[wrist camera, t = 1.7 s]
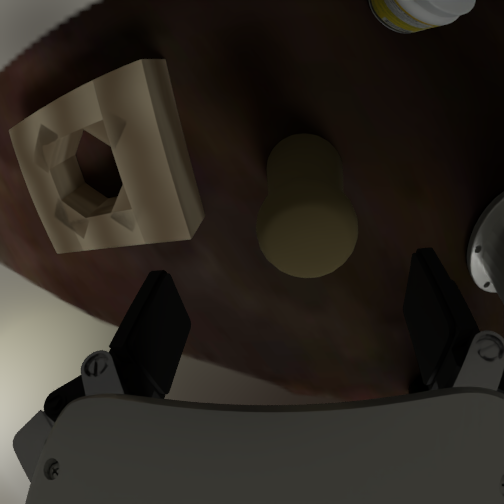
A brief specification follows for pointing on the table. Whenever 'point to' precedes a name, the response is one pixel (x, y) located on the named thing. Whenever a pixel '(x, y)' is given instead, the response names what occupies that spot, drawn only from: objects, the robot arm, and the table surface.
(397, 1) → the supplement bottle
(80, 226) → the jig
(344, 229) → the cork
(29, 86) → the table surface
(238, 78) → the table surface
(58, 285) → the table surface
